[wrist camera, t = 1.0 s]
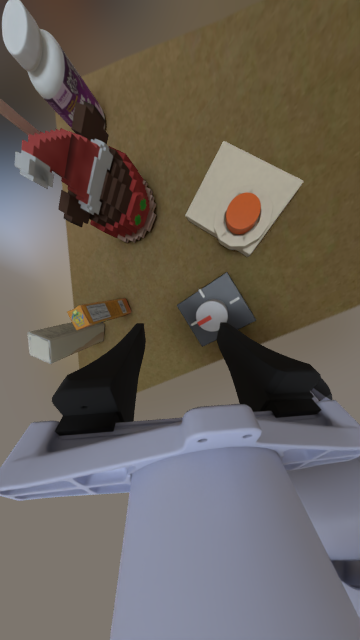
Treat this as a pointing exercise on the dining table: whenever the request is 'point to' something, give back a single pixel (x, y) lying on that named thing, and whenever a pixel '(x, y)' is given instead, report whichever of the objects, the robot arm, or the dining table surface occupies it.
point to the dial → (211, 315)
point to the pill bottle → (44, 62)
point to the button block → (236, 178)
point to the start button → (243, 213)
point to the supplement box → (98, 312)
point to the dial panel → (224, 292)
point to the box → (63, 341)
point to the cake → (87, 174)
